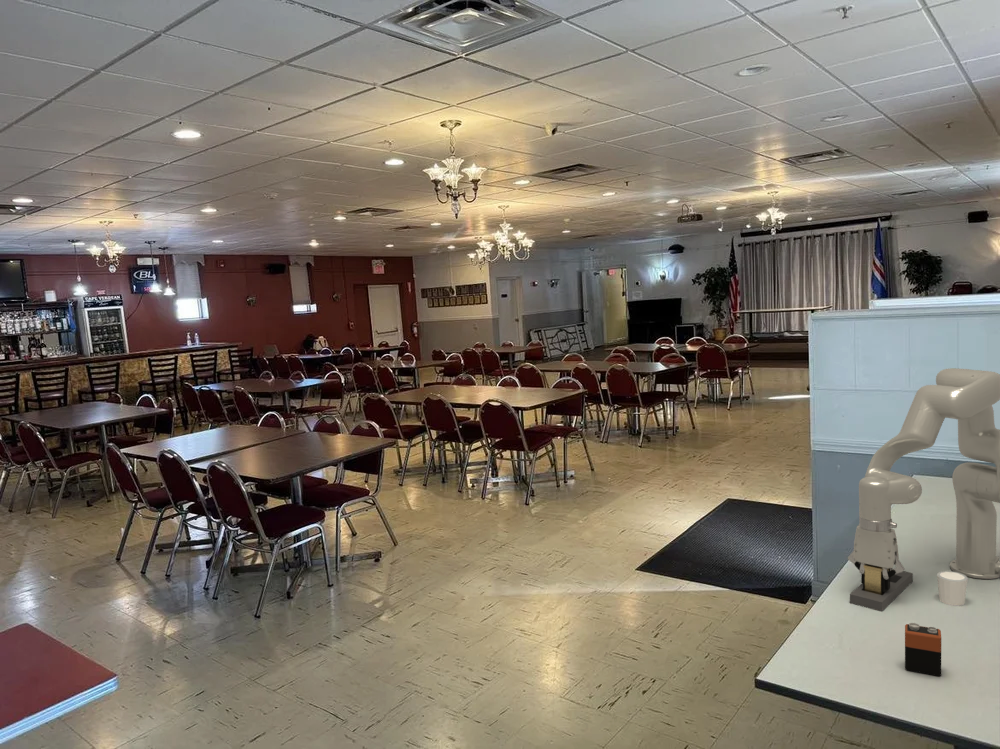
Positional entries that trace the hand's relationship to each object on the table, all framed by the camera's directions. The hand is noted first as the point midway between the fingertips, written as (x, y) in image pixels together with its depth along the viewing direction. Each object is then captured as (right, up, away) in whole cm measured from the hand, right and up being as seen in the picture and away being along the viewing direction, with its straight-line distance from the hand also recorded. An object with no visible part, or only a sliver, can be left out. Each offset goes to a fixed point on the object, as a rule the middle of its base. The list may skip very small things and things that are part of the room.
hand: (875, 588), depth 189 cm
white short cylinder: (+18, -2, -4) cm, 19 cm away
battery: (-8, -8, -35) cm, 36 cm away
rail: (+4, -2, +4) cm, 6 cm away
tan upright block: (0, -1, 0) cm, 1 cm away
